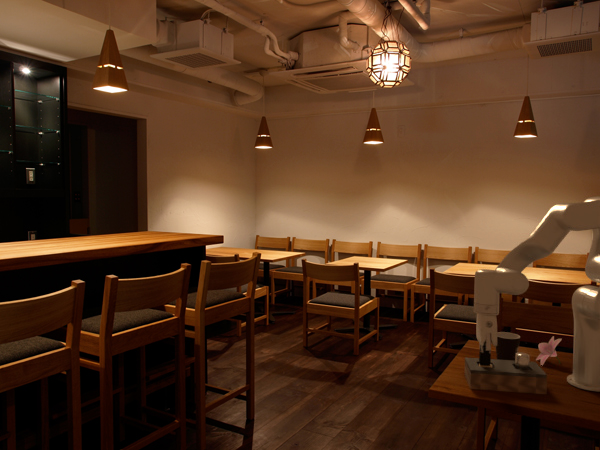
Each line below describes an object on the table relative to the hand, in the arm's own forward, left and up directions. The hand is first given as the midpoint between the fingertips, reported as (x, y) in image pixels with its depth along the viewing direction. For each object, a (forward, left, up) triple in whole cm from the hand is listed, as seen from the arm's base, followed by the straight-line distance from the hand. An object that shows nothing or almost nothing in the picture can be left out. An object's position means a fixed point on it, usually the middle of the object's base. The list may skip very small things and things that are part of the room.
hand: (484, 364), depth 153 cm
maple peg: (0, 0, -6) cm, 6 cm away
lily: (-27, -25, -6) cm, 37 cm away
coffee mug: (-13, -23, -6) cm, 27 cm away
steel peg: (-11, 0, -2) cm, 11 cm away
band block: (-6, 0, -6) cm, 8 cm away
